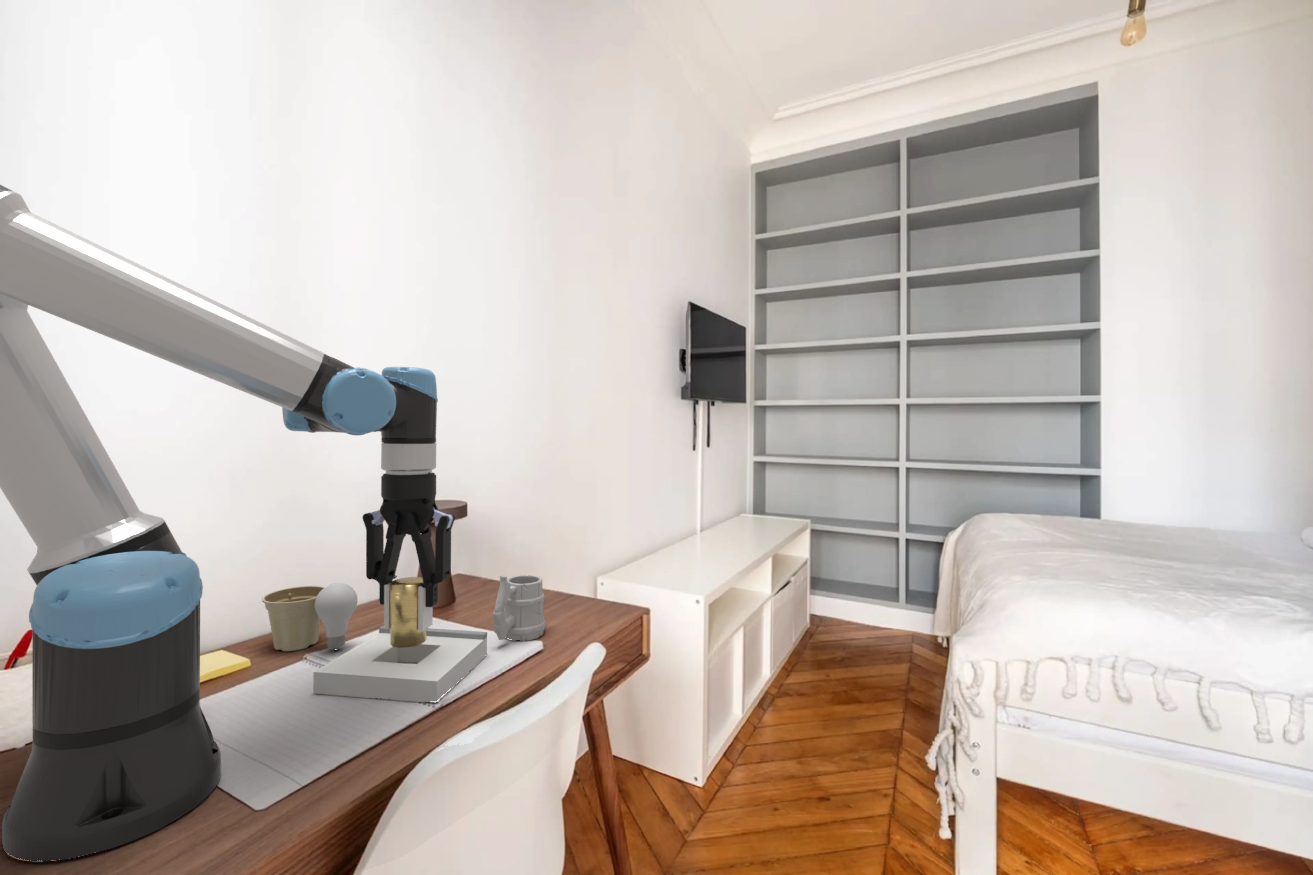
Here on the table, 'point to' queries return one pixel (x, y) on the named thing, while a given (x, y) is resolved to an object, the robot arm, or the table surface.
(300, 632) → the flower pot
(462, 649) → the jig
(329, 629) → the lightbulb
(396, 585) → the gold cylinder
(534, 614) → the mug
